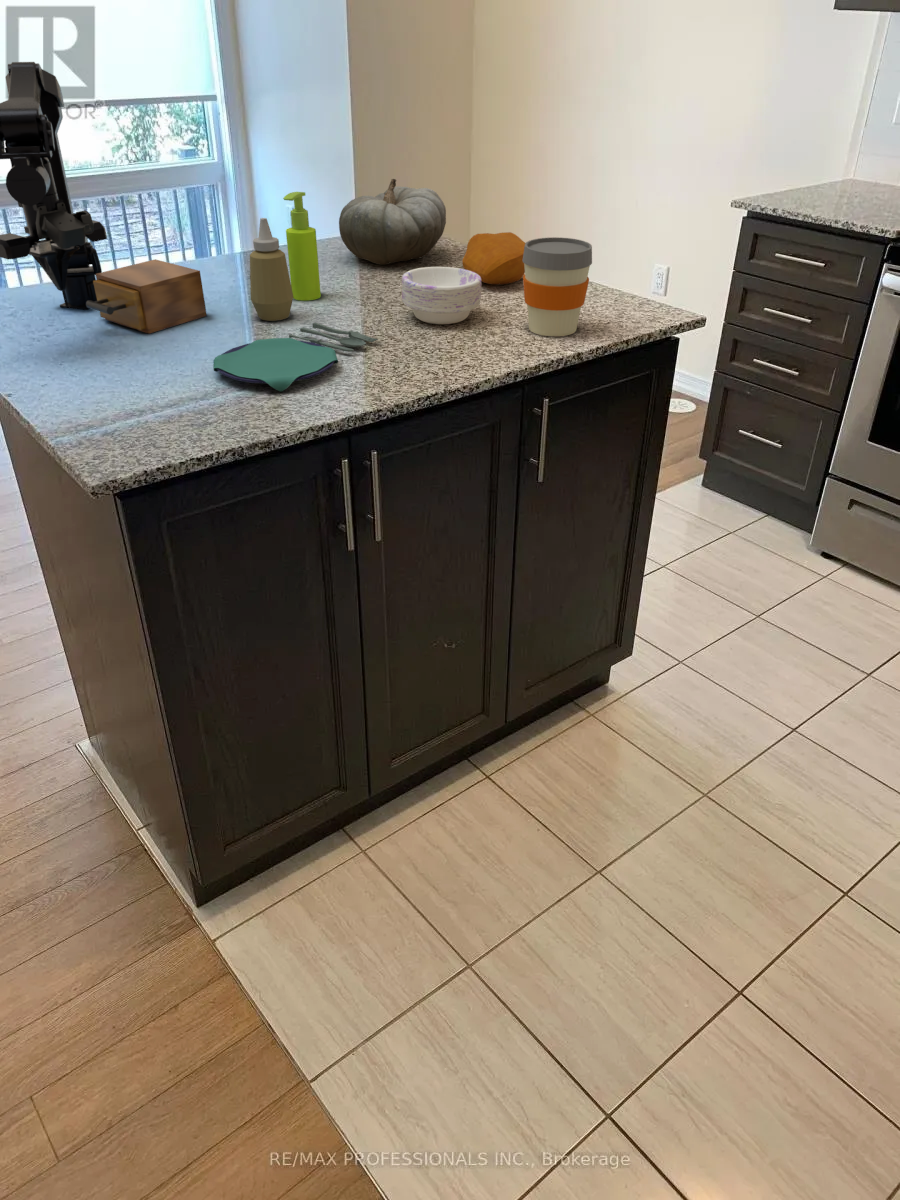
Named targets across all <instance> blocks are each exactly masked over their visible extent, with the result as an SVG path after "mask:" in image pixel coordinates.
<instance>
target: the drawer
mask: <svg viewBox="0 0 900 1200" xmlns="http://www.w3.org/2000/svg"><path fill="white" fill-rule="evenodd" d="M93 284H94V288H95V293H96V297H97V301H91V300H88V301H87V302H86V306H87V307H88V308H90V309H89V310H94V311H97V312H99V315H100V317H101V318H103V319H108V320H112V321H115V322H118V323H121V324H124V325H127V326H130V327H133V328H136V329H139V330H142V329H145V328H146V326H145V321H144V316H143V311H142V305H141V300H140V295H139V291H136V290H133V289H129V288H126V287H122V286H119V285H118V284H115V283H111V282H108V281H107V282H105V281H102V280H97V279H96V280H94V281H93ZM108 320H107V321H108ZM121 324H120V325H121ZM124 325H123V326H124ZM127 326H126V327H127ZM130 327H129V328H130ZM133 328H132V329H133ZM136 329H135V330H136ZM139 330H138V331H139Z"/></svg>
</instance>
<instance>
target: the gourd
mask: <svg viewBox="0 0 900 1200" xmlns="http://www.w3.org/2000/svg"><path fill="white" fill-rule="evenodd" d="M446 223H447V209H446V205H445V203H444V201H443V199H442V198H441V197H440V196H439V194H438V193H437V191H435V190H434V189H431V188H428V187H421V188H415V187H408V186H399V185H398V186H397V179H396V178H391V179H390V182H389V185H388V188H387V189H386V190H385V191H384V192H381V193H378V194H377V195H376V196H373V195H362V196H358V197H356V198H353V199H351V200H350V201H349V202H347V203H346V204H345V205H344V207H343V208H342V209H341V211H340V214H339V218H338V229H339V236H340V238H341V240H342V242H343V244H344V246H345V247H346V248H347V249H348V251H349V252H350V253H351V254H352V255H353V256H355V257H356V258H358V259H361V260H365V261H368V262H370V263H373V264H377V265H380V266H381V265H382V266H386V265H388V264H389V265H390V264H392V263H398V262H407V261H411V260H418V259H421V258H423V257H425V256H427V255H428V254H429V253H430V252H431V251H432V250H433V248H434V247H435V246H436V244H437V243H438V241H439V240H440V239H441V238H442V236H443V234H444V232H445V227H446Z"/></svg>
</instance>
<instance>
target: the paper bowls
mask: <svg viewBox="0 0 900 1200" xmlns="http://www.w3.org/2000/svg"><path fill="white" fill-rule="evenodd" d="M481 299H482V282H481V277H480V276H479V275H478V274H476V273H475V272H472V271H469V270H465V269H464V268H459V267H452V266H424V267H419V268H413V269H410V270H408V271H406V272H404V273H402V276H401V301H402V303H403V304H404V305H405V306H406V307H407V308H409V309H411V310H412V312H413V315H414V316H415V318H416V319H417V320H419V321H421V322H423V323H424V322H425V323H427V324H433V325H453V324H457V323H460V322H462V321H464V320H466V319H467V318H468V316H469V315H470V313H471V311H473V310H475V309H477V308H478V307H479V306H480V305H481Z"/></svg>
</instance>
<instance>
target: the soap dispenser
mask: <svg viewBox="0 0 900 1200" xmlns="http://www.w3.org/2000/svg"><path fill="white" fill-rule="evenodd" d="M305 196H306V192H305V191H292V192H289V193H287V194H286V195H285V196H284V197H283V198H282V199H283V200H284V201H289V202H293V206H294V208H292V209H291V210H290V222H291V227H288V228H286V230H285V235H286V246H287V256H288V257H287V258H288V267H289V268H288V269H289V277H290V282H291V287H292V292H293V300H295V301H296V300H297V301H302V302H303V301H304V302H305V301H307V302H309V301H314V300H318V299H320V298H321V296H322V293H321V281H320V279H321V278H320V268H319V256H318V255H319V254H318V242H317V241H318V239H317V230H316V227H312V226H310V221H309V211H308V209H306V208H304V202H303V201H304V200H303V197H305Z"/></svg>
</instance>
